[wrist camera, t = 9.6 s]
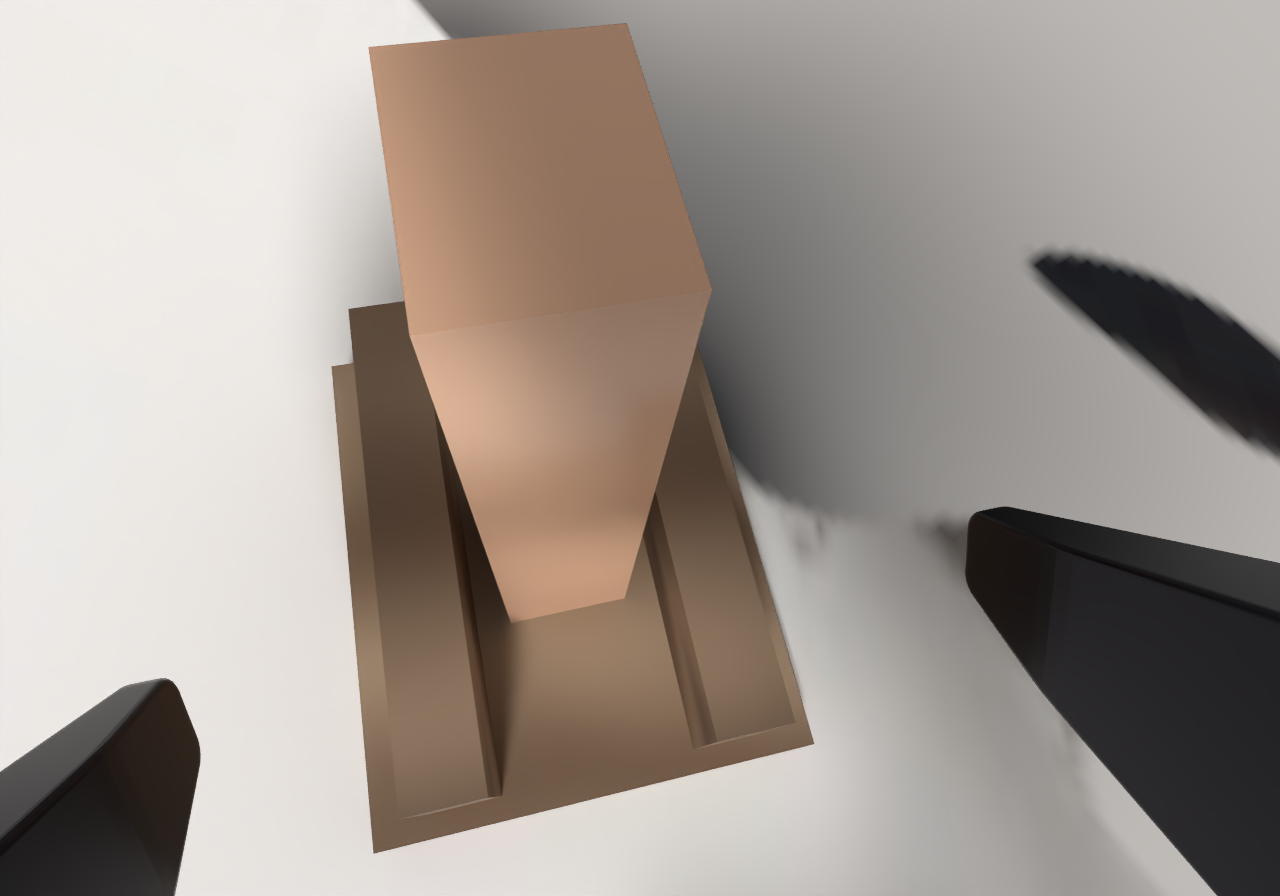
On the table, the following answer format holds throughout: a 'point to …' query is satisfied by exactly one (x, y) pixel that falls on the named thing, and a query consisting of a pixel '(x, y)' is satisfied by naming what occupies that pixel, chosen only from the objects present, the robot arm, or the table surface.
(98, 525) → the table surface
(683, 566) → the slot rack
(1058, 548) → the robot arm
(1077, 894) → the table surface
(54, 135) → the table surface
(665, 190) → the clay block
